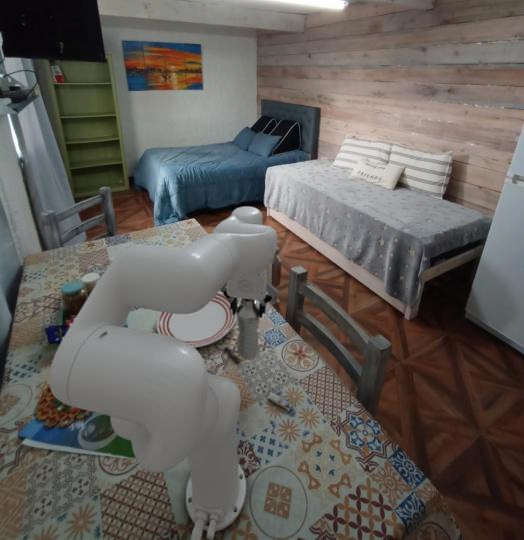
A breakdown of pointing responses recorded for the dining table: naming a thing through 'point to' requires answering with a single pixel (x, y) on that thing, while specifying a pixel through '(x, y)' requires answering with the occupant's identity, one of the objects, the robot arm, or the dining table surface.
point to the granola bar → (280, 401)
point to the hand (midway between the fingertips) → (248, 312)
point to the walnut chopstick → (232, 355)
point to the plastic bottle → (248, 329)
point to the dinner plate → (199, 323)
